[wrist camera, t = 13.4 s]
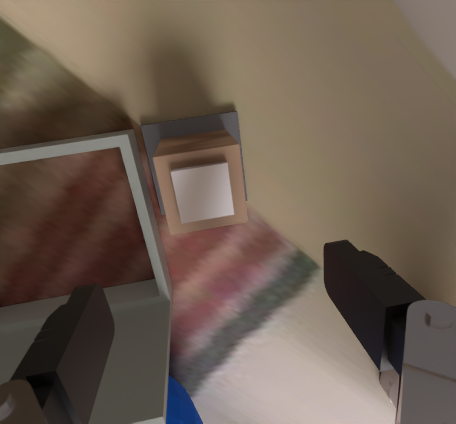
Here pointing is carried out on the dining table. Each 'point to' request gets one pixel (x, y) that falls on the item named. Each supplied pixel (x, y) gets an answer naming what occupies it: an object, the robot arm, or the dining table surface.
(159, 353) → the case
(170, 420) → the blue funnel
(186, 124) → the mat
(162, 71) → the dining table surface
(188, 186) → the module
